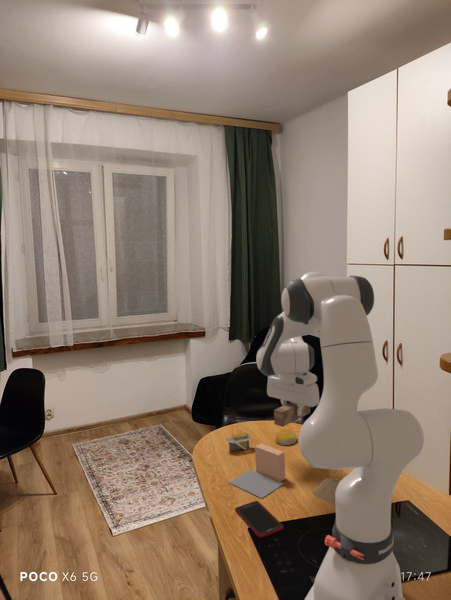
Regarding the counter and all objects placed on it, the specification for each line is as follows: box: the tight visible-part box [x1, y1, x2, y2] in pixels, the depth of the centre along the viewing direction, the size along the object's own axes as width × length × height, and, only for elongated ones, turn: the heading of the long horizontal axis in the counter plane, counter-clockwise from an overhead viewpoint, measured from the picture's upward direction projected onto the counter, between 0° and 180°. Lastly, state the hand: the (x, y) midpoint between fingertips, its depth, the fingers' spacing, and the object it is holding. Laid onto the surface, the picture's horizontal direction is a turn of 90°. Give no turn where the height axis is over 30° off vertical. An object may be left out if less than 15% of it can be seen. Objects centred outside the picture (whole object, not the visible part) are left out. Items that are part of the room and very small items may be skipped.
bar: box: [273, 402, 311, 428], centre depth 149 cm, size 16×4×5 cm, turn 134°
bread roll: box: [274, 428, 298, 446], centre depth 166 cm, size 8×9×4 cm
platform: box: [225, 431, 252, 452], centre depth 161 cm, size 12×18×7 cm, turn 107°
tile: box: [254, 443, 286, 482], centre depth 141 cm, size 3×10×9 cm, turn 44°
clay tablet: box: [313, 477, 341, 506], centre depth 129 cm, size 14×10×3 cm
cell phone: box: [234, 500, 284, 539], centre depth 118 cm, size 8×15×1 cm, turn 26°
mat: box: [228, 469, 284, 500], centre depth 136 cm, size 10×14×1 cm
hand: (292, 413), depth 149 cm, fingers closed on bar, 3 cm apart
